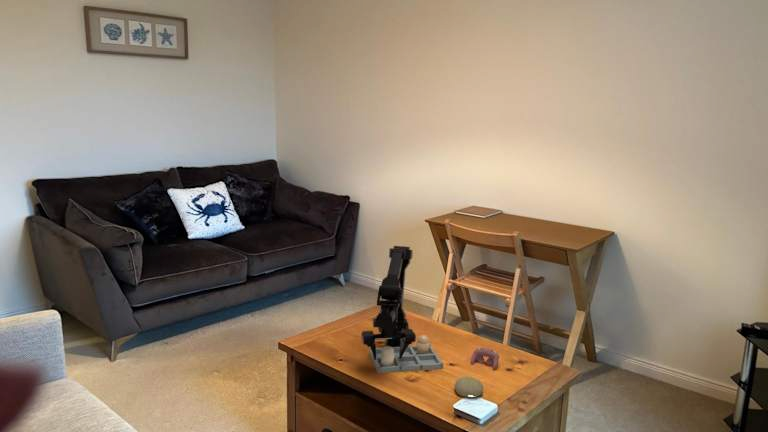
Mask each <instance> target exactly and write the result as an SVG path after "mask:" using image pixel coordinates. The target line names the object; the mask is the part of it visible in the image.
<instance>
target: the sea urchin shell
mask: <svg viewBox="0 0 768 432" xmlns="http://www.w3.org/2000/svg"><path fill="white" fill-rule="evenodd" d="M454 383H455V384H454V388H455V392H456V393H457V394H458V395H459V396H461V397H465V396H468V395H473V396H477V397H479V396H480V395H482V393H483V391H484V385H483V383H482V382H481V381H480V380H479V379H478V378H475V377H473V376H461V377H459V378H457V379H456V380H455V382H454Z"/></svg>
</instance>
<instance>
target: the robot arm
mask: <svg viewBox="0 0 768 432" xmlns="http://www.w3.org/2000/svg"><path fill="white" fill-rule="evenodd" d="M413 251H414V250H413V249H411V247H410V246H405V245H404V246H402V245H401V246H400V245H393V248H389V251H388V258H390V261H389V266H388V271H387V274H386V277H384V278H383V279H382V281H381V284H380V285H379V286H378V292H377V298H376V299H377V300H376V306H380V309H379V312H378V313H377V315H376V318H375V317H374V318H373V319H372V327H373V328H377V329H378V332H379V333H376V334H374V332H373V330H363V331H362V332H361V337H360V340H361V341H362V344H363V345H364V346H367V347H368V348H369V347H370V349H371V350H372V354H373V357H374V360H376V348H377V346H376V343H375V342H376V341H379V340H385V346H391V347H400V352H399V358H400V359H401V358H402V356H403V354H404V352H405V350H406V349H407V347H408V346H410V345H412V344H413V343H414V342H417V336H416V333H415V332H414V330H413V328H410V326H409V322H408V319H407V314H406V312H405V309H404V308H403V306H404V293H405V284H406V283H405V281H406V280H405V279H406V271H407V268H408V267H409V265H411V260H412V259H413Z"/></svg>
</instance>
